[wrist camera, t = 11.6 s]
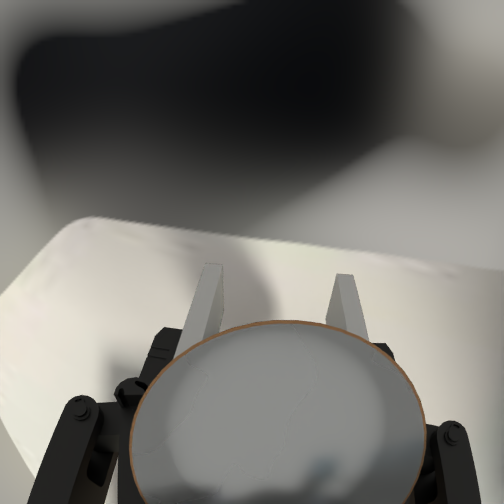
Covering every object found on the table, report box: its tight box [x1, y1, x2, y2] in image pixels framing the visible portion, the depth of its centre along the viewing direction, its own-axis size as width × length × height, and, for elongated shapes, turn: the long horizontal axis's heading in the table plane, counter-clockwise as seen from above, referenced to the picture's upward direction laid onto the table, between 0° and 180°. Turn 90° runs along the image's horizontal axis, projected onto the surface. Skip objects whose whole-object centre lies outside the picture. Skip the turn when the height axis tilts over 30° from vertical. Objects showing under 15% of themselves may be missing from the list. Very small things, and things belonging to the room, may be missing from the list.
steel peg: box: [129, 320, 427, 504], centre depth 12 cm, size 5×5×15 cm
